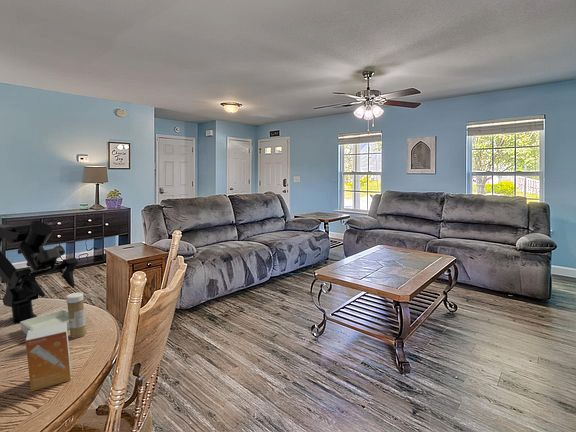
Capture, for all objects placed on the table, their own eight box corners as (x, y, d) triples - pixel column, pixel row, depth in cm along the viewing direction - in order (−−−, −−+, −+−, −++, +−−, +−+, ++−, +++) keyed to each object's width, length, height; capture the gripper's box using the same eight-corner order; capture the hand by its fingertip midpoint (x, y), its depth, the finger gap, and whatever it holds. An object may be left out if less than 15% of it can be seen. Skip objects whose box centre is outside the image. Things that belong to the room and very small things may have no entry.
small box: (30, 392, 78) (24, 340, 76) (33, 379, 83) (27, 329, 81) (71, 380, 82) (66, 331, 81) (71, 368, 88) (66, 321, 86)
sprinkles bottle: (68, 335, 105) (63, 295, 104) (84, 330, 109) (80, 291, 107) (73, 340, 102) (68, 298, 101) (89, 334, 106) (85, 294, 104)
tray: (21, 330, 109) (20, 321, 109) (65, 316, 120) (64, 308, 119) (35, 341, 102) (34, 332, 101) (81, 325, 112) (80, 317, 112)
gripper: (9, 245, 99) (35, 285, 96) (72, 234, 116) (96, 268, 112) (-1, 268, 103) (23, 307, 100) (61, 254, 120) (83, 287, 117)
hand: (59, 291), depth 107 cm, fingers open, 9 cm apart
